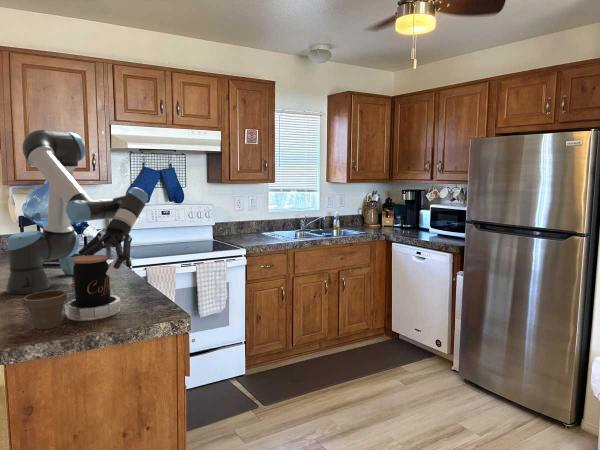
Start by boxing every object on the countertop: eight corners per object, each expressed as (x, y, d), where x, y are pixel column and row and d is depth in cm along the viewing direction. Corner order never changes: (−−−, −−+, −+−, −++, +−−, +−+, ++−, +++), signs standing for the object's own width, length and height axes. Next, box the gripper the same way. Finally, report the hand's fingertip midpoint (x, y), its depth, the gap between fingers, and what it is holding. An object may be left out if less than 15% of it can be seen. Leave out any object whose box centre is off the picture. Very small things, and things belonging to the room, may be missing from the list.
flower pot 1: (23, 335, 134) (20, 301, 133) (27, 324, 144) (25, 292, 143) (68, 329, 139) (65, 296, 138) (68, 318, 149) (66, 288, 148)
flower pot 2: (87, 273, 218) (86, 254, 217) (69, 277, 211) (68, 257, 210) (76, 271, 223) (75, 253, 222) (59, 275, 216) (57, 256, 215)
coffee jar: (89, 317, 148) (85, 261, 146) (69, 312, 153) (65, 259, 151) (118, 308, 157) (114, 256, 155) (98, 304, 162) (95, 253, 160)
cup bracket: (55, 318, 150) (54, 306, 150) (93, 304, 165) (92, 293, 165) (95, 322, 145) (94, 310, 144) (130, 308, 160) (130, 297, 159)
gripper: (155, 232, 164) (129, 283, 152) (99, 229, 173) (70, 278, 160) (145, 218, 159) (116, 270, 146) (87, 217, 167) (56, 266, 155)
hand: (92, 274), depth 153 cm, fingers open, 13 cm apart
